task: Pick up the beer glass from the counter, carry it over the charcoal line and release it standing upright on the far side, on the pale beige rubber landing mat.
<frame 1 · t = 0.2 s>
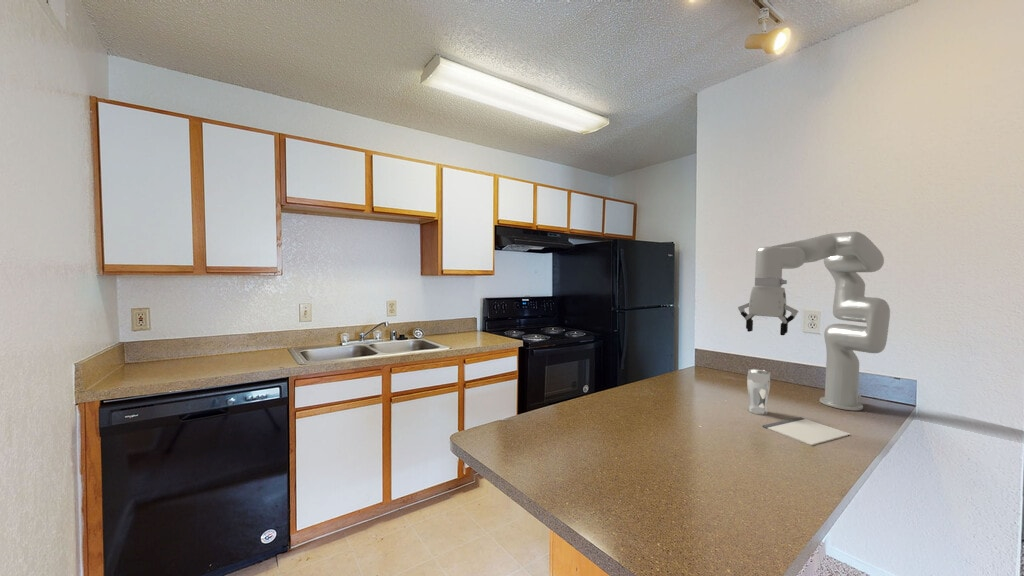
hand: (765, 333, 126), 30 cm above the worktop, tool pointing down, fingers open, 9 cm apart
landing mat: (805, 431, 119), on the worktop
beer glass: (757, 412, 135), on the worktop
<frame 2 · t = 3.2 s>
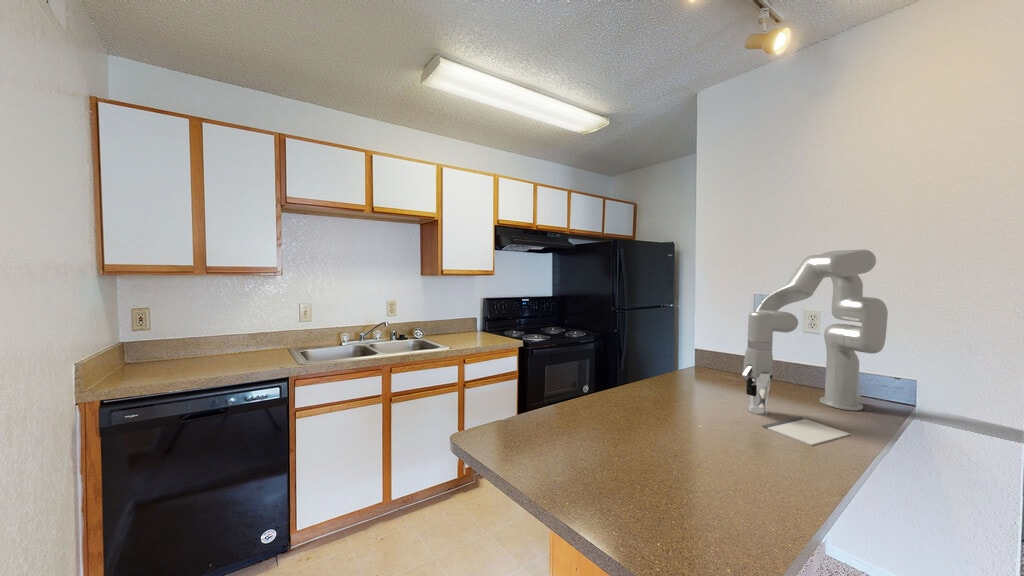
hand: (757, 393, 135), 7 cm above the worktop, tool pointing down, fingers closed on beer glass, 6 cm apart
beer glass: (757, 412, 135), on the worktop, touching gripper
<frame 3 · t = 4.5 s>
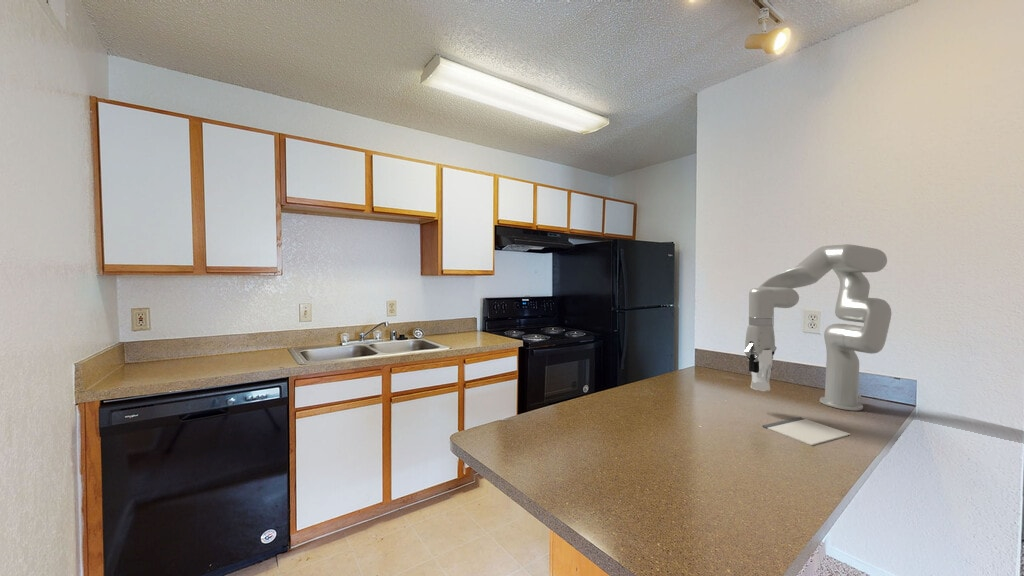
hand: (760, 370, 135), 15 cm above the worktop, tool pointing down, fingers closed on beer glass, 6 cm apart
beer glass: (760, 389, 135), point 8 cm above the worktop, touching gripper
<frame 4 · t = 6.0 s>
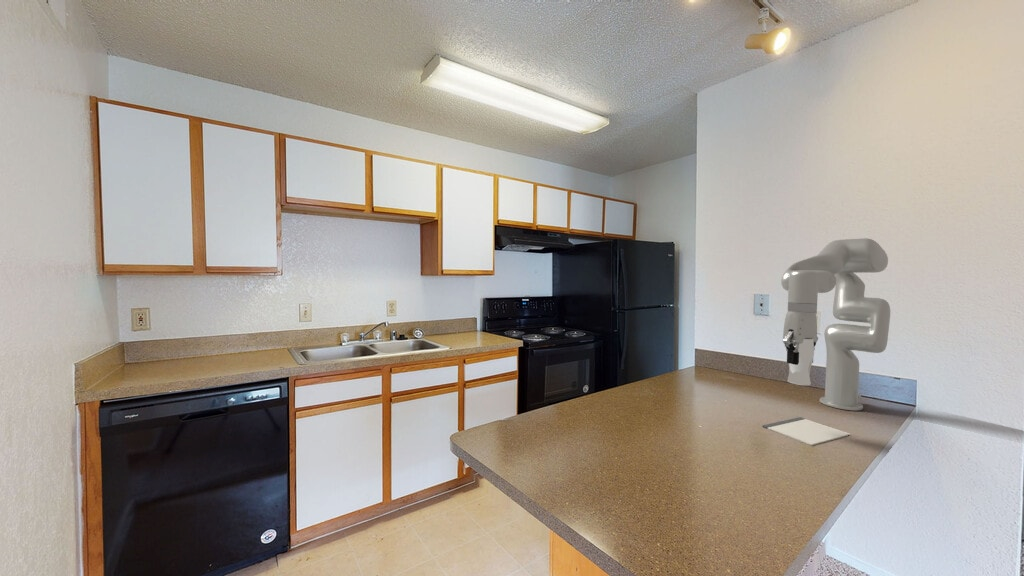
hand: (799, 362, 121), 22 cm above the worktop, tool pointing down, fingers closed on beer glass, 6 cm apart
beer glass: (798, 383, 121), point 15 cm above the worktop, touching gripper
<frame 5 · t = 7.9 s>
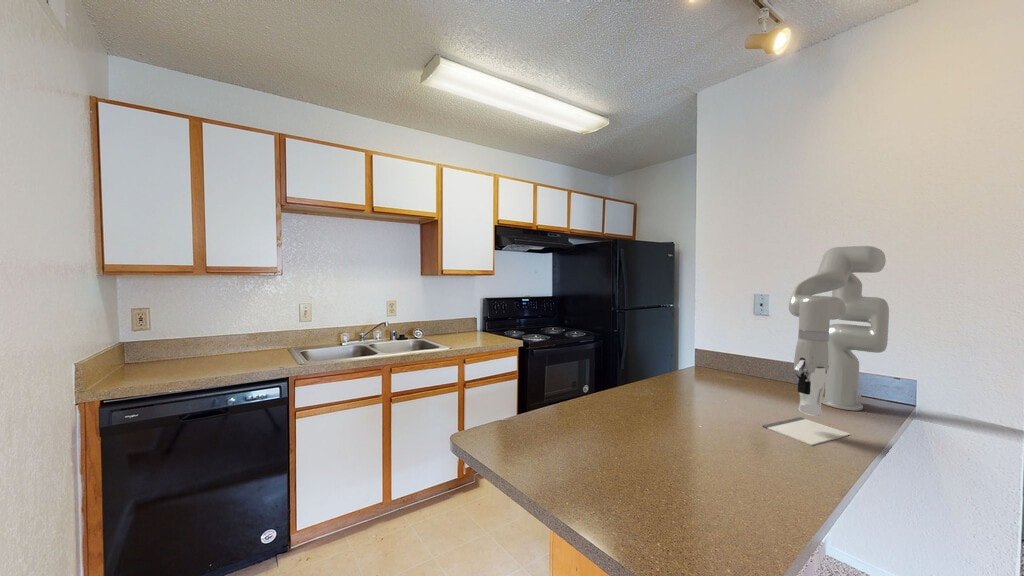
hand: (810, 391, 117), 13 cm above the worktop, tool pointing down, fingers closed on beer glass, 6 cm apart
beer glass: (810, 413, 117), point 6 cm above the worktop, touching gripper
when the fingers open (8 cm above the worktop, at t = 9.3 s): beer glass drops 1 cm, resting on landing mat.
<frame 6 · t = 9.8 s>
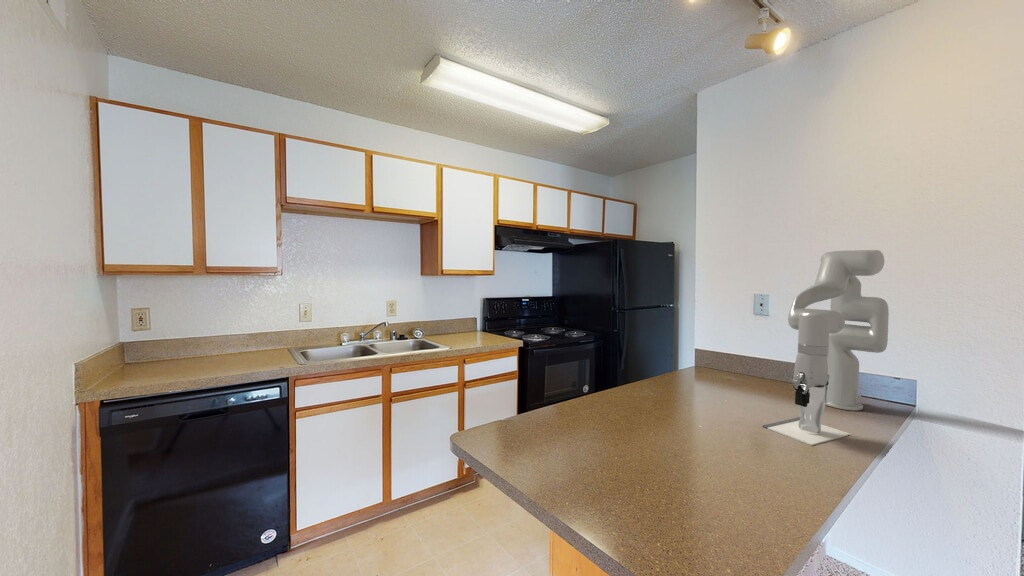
hand: (810, 403, 117), 9 cm above the worktop, tool pointing down, fingers open, 9 cm apart
beer glass: (809, 431, 118), resting on landing mat
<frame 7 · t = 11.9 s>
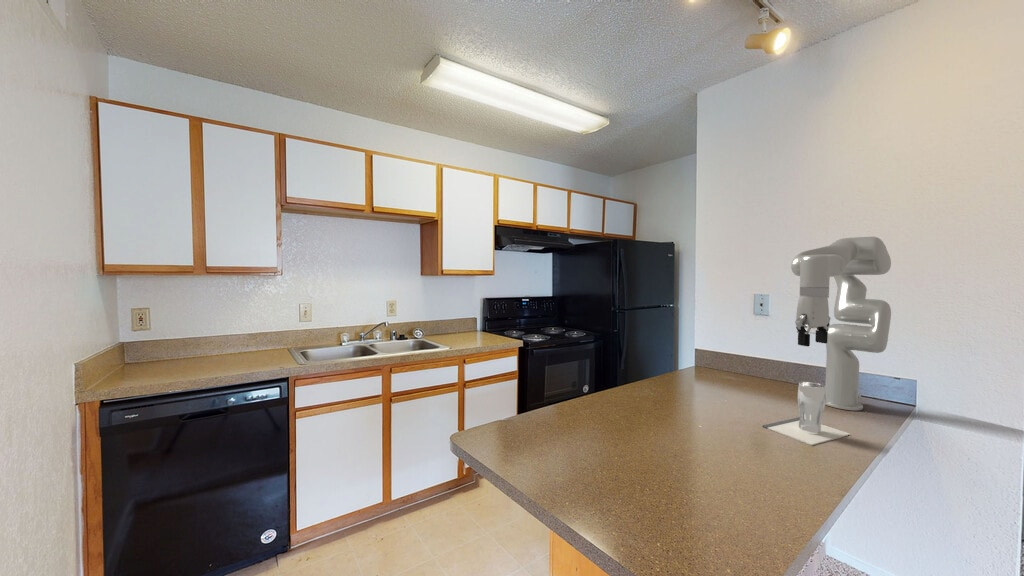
hand: (812, 344, 122), 27 cm above the worktop, tool pointing down, fingers open, 9 cm apart
nothing on the worktop moved.
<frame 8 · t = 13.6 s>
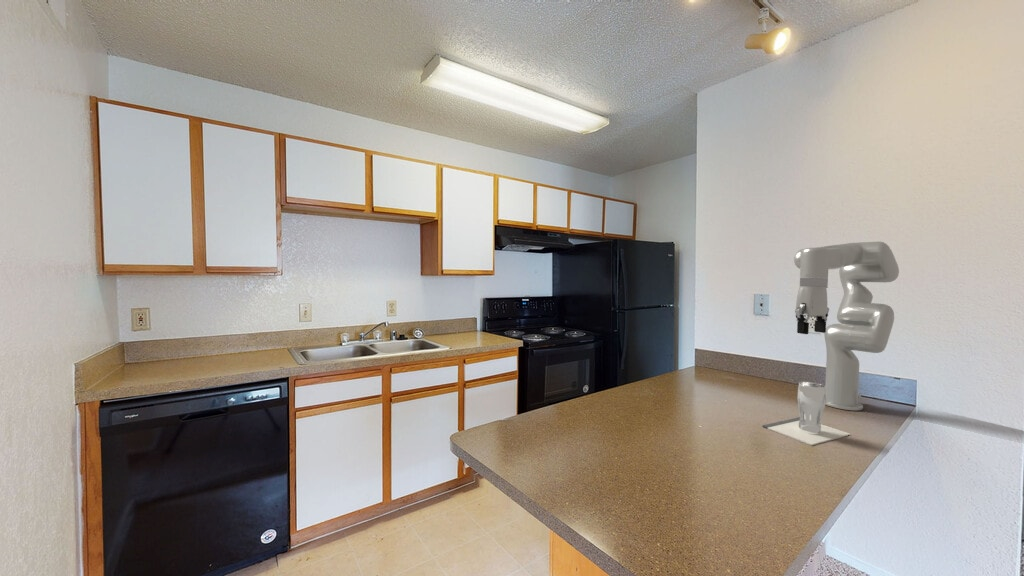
hand: (811, 332, 128), 30 cm above the worktop, tool pointing down, fingers open, 9 cm apart
nothing on the worktop moved.
at the end: beer glass inside the target area (1.0 cm from its centre), resting on landing mat; beer glass tilted 0°; the gripper is holding nothing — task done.
